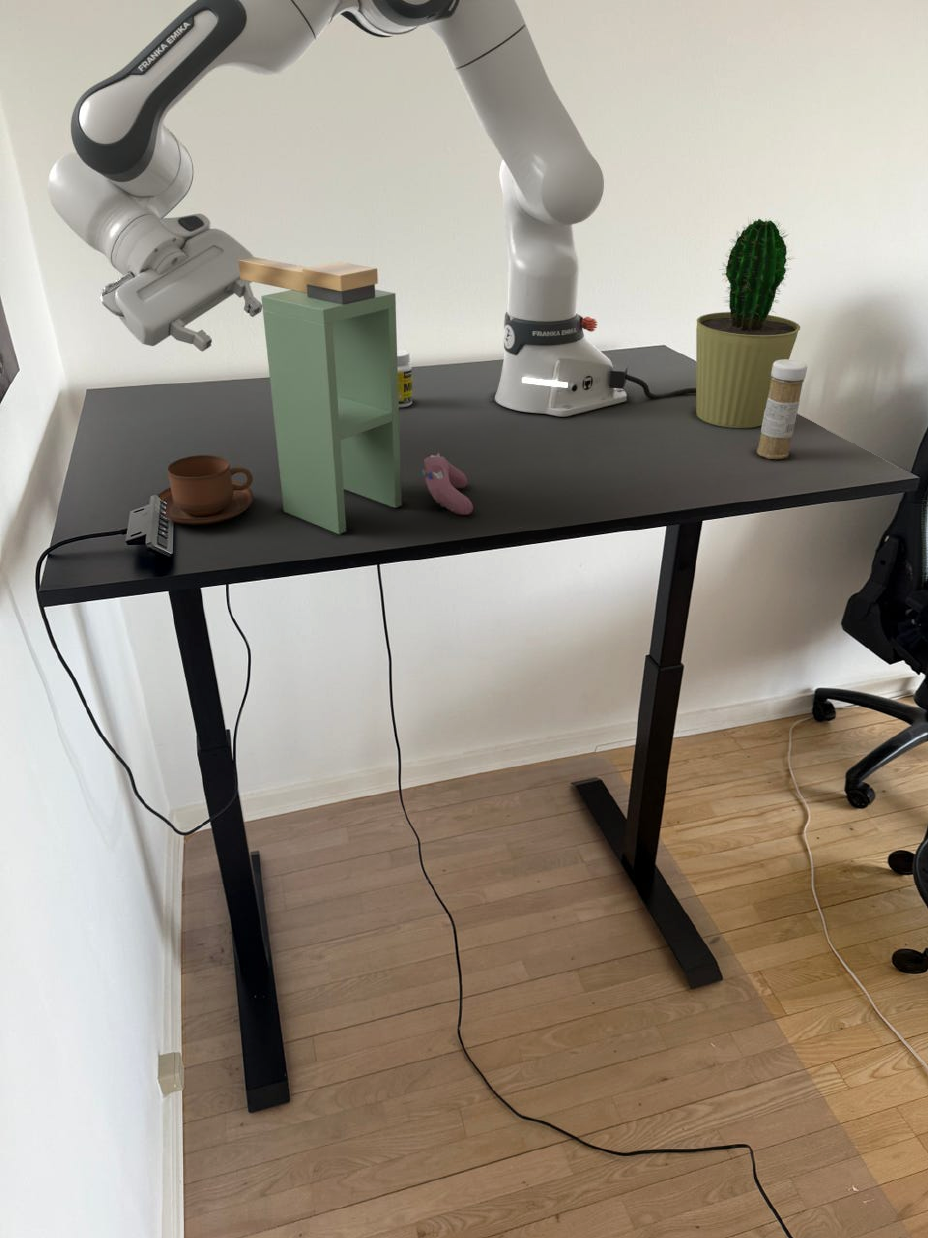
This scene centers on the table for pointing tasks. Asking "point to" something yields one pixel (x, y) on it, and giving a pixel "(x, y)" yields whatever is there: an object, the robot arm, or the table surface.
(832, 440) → the table surface
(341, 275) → the desk brush
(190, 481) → the cup and saucer
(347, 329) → the sage stand
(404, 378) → the supplement bottle
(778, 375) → the sprinkles bottle
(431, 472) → the video game controller
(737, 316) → the potted cactus
